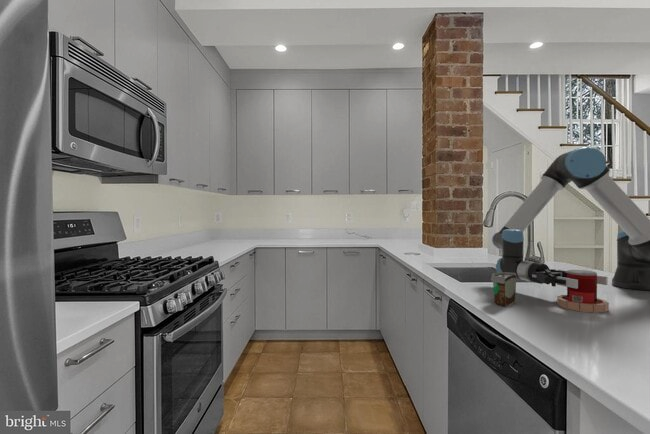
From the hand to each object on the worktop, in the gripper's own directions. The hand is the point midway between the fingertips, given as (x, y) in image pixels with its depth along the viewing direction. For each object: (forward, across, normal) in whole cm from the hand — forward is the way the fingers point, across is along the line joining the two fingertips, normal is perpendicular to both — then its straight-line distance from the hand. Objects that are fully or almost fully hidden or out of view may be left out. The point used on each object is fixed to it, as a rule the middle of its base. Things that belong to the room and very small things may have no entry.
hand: (592, 282), depth 114 cm
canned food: (-3, 0, -8) cm, 9 cm away
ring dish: (-3, 0, -9) cm, 9 cm away
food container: (-17, +20, -9) cm, 28 cm away
